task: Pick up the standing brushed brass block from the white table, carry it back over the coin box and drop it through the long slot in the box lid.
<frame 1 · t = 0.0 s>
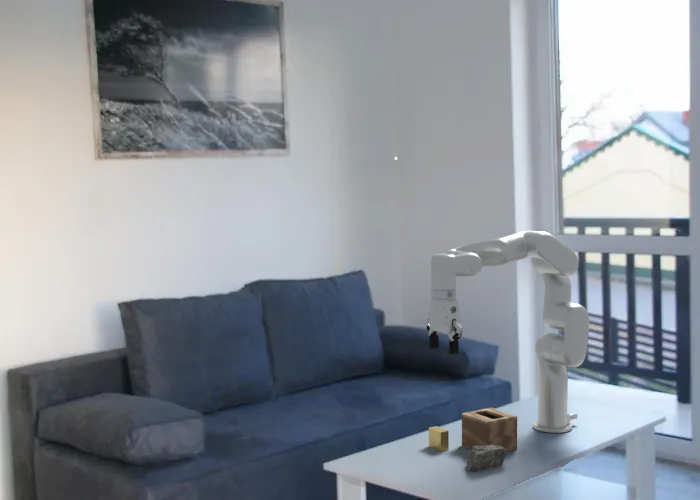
hand: (443, 351, 275), 31 cm above the table, fingers open, 9 cm apart
stone: (484, 467, 264), on the table
brushed brass block: (438, 448, 282), on the table
coin box: (489, 446, 282), on the table
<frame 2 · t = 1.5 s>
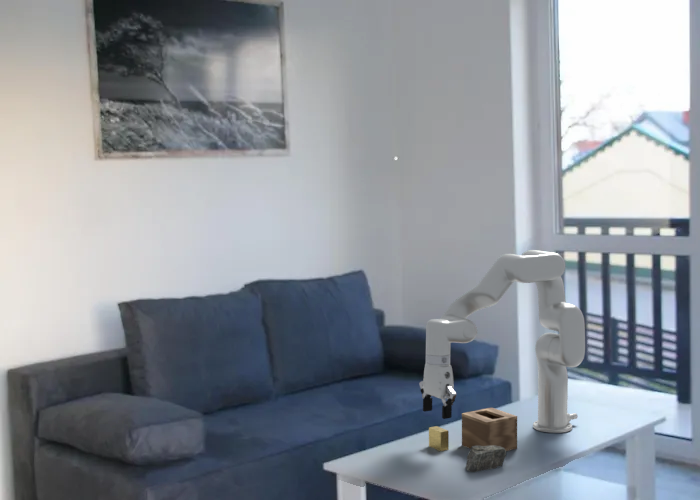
hand: (437, 414, 280), 11 cm above the table, fingers open, 9 cm apart
nothing on the table moved.
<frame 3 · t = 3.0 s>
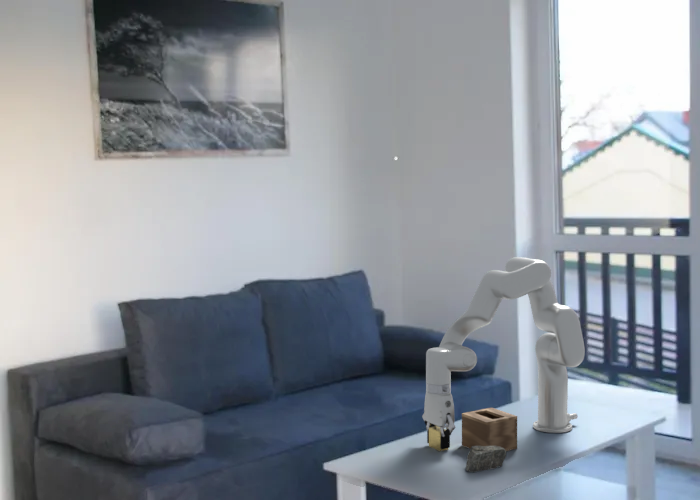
hand: (438, 444, 282), 1 cm above the table, fingers closed on brushed brass block, 5 cm apart
brushed brass block: (438, 447, 282), on the table, touching gripper
everything else where it was.
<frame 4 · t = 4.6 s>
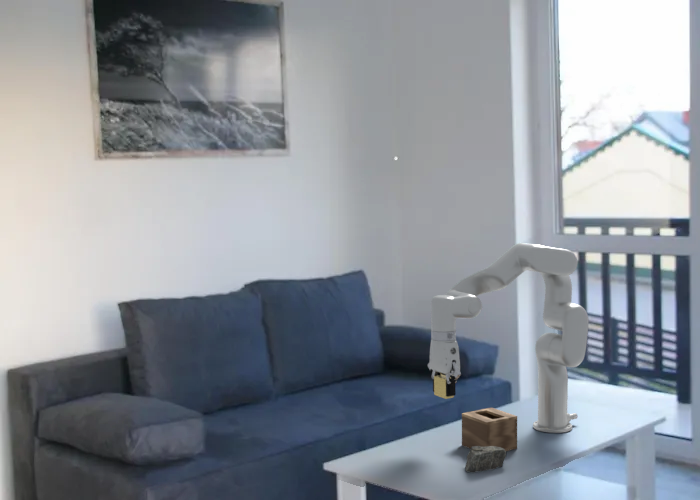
hand: (444, 393, 280), 17 cm above the table, fingers closed on brushed brass block, 5 cm apart
brushed brass block: (443, 396, 280), point 16 cm above the table, touching gripper
everything else where it was.
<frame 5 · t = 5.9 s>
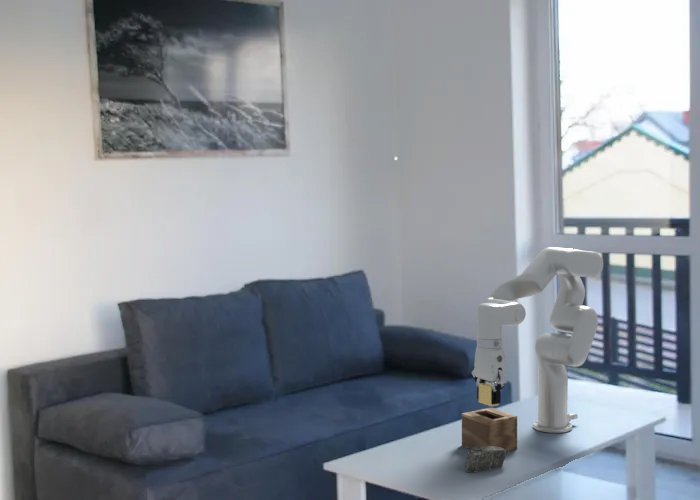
hand: (488, 400, 280), 15 cm above the table, fingers closed on brushed brass block, 5 cm apart
brushed brass block: (488, 403, 280), point 14 cm above the table, touching gripper
when the fingers open (12 cm above the table, at t = 6.7 s): brushed brass block drops 10 cm, resting on coin box.
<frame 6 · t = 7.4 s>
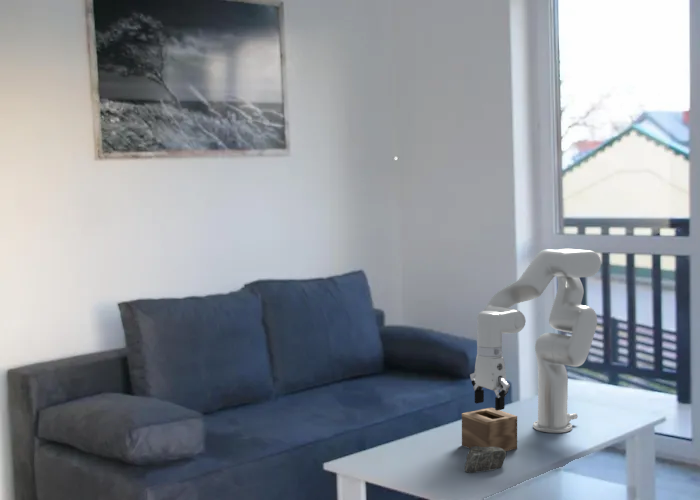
hand: (489, 406, 281), 13 cm above the table, fingers open, 9 cm apart
brushed brass block: (489, 444, 282), point 1 cm above the table, touching coin box
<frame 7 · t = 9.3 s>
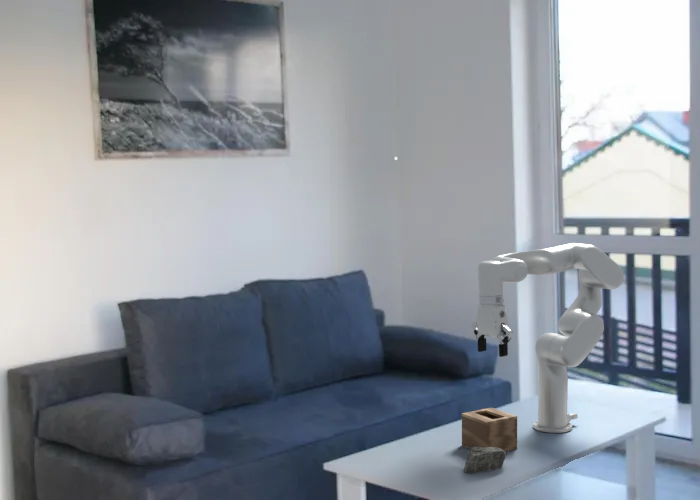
hand: (492, 353, 288), 28 cm above the table, fingers open, 9 cm apart
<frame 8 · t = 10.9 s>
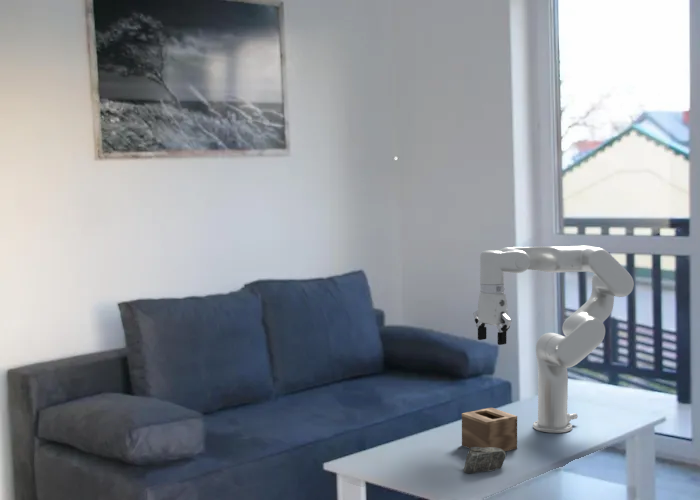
hand: (491, 341, 293), 30 cm above the table, fingers open, 9 cm apart
at the end: brushed brass block inside the target area on the coin box (0.1 cm from its centre), point 0.8 cm above the coin box's base; the gripper is holding nothing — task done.
